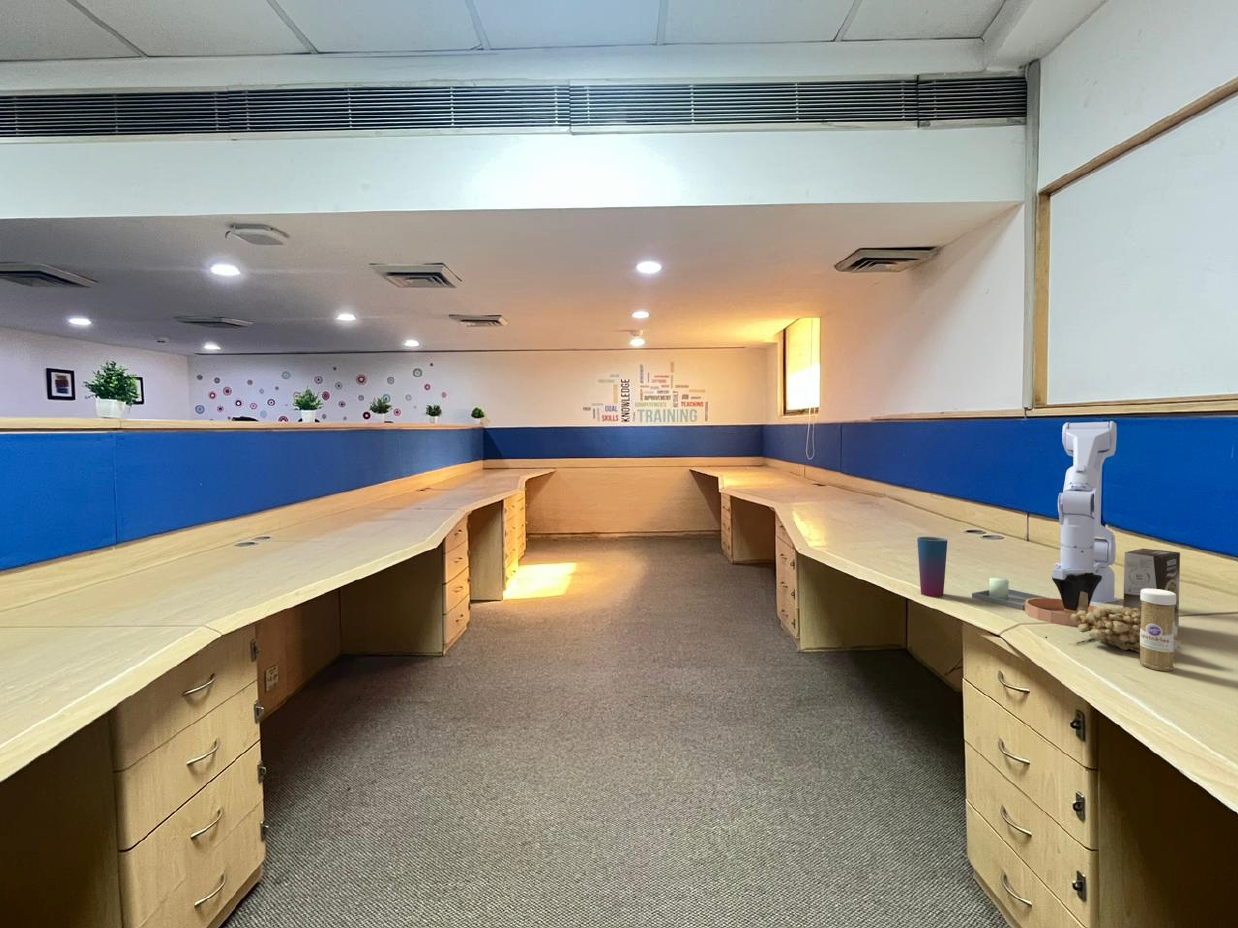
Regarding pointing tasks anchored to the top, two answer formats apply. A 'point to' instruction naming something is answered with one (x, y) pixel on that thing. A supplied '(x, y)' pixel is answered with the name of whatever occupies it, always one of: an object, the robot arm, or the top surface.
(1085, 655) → the top surface
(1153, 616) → the sprinkles bottle
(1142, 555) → the coffee box
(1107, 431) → the robot arm
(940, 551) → the cup
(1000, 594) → the mint green rounded cylinder
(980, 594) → the tray
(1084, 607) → the beige rounded cylinder
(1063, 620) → the bowl
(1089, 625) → the mineral formation
